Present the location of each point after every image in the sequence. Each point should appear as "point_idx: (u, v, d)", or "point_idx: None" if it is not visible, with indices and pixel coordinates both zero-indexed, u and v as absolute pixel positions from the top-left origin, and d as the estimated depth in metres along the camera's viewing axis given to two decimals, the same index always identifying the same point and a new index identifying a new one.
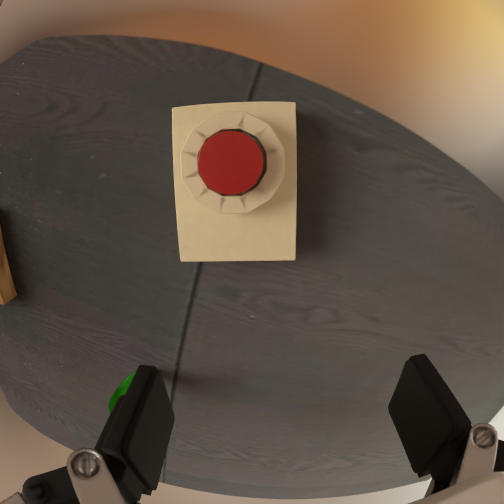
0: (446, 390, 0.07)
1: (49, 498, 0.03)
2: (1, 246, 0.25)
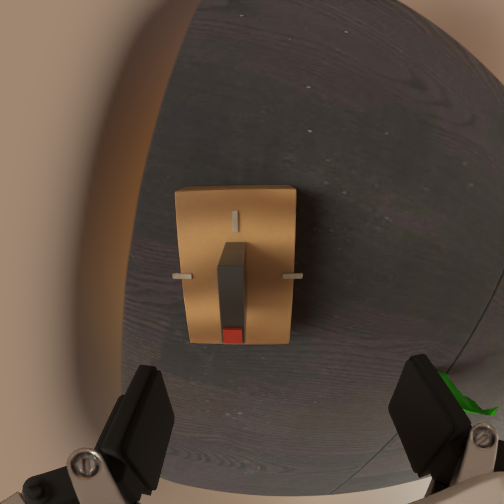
0: (446, 390, 0.07)
1: (49, 498, 0.03)
2: None
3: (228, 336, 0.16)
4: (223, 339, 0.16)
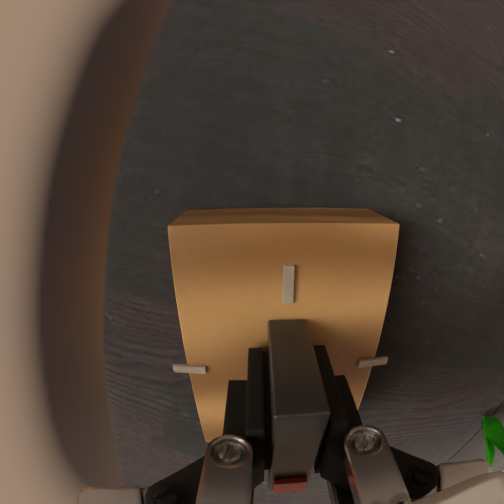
0: (332, 383, 0.08)
1: (185, 502, 0.05)
2: None
3: (282, 488, 0.07)
4: (272, 488, 0.07)
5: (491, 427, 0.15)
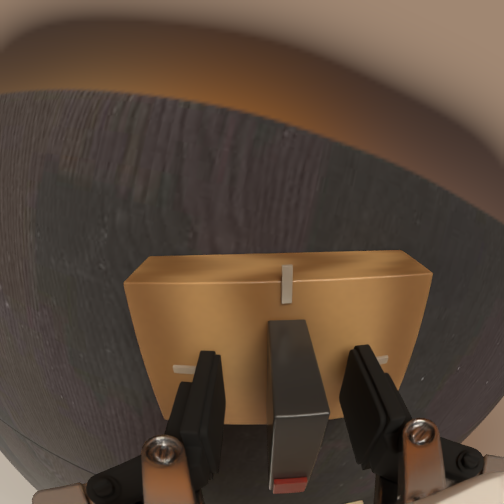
0: (384, 381, 0.08)
1: (120, 494, 0.04)
2: None
3: (282, 488, 0.07)
4: (272, 489, 0.07)
5: None
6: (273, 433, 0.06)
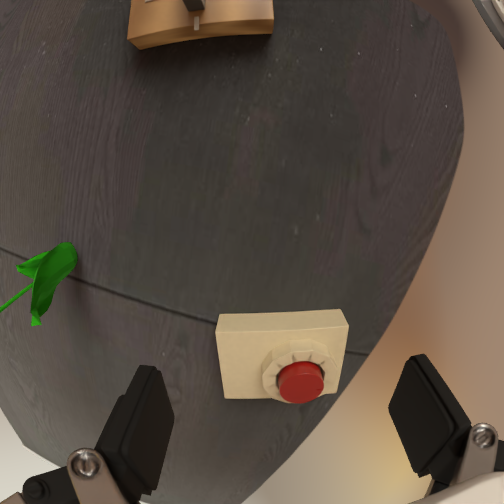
0: (446, 390, 0.07)
1: (49, 498, 0.03)
2: (214, 34, 0.18)
3: None
4: None
5: (68, 252, 0.23)
6: None
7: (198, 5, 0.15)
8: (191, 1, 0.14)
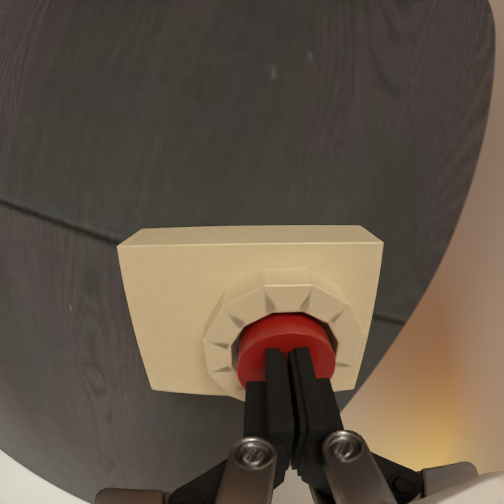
0: (313, 386, 0.08)
1: None
2: None
3: None
4: None
5: None
6: None
7: None
8: None
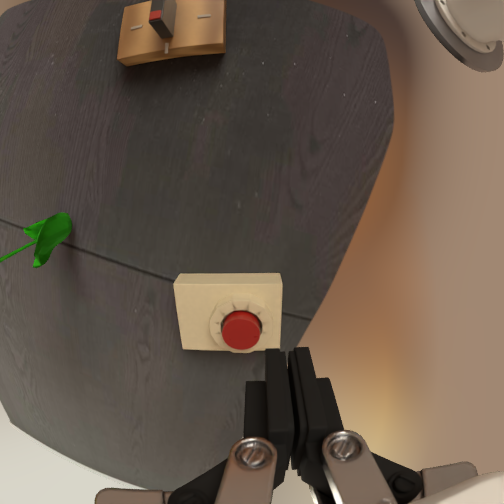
0: (313, 386, 0.08)
1: None
2: (181, 55, 0.25)
3: (152, 14, 0.18)
4: (149, 18, 0.18)
5: (65, 220, 0.29)
6: None
7: (167, 34, 0.22)
8: (162, 32, 0.21)
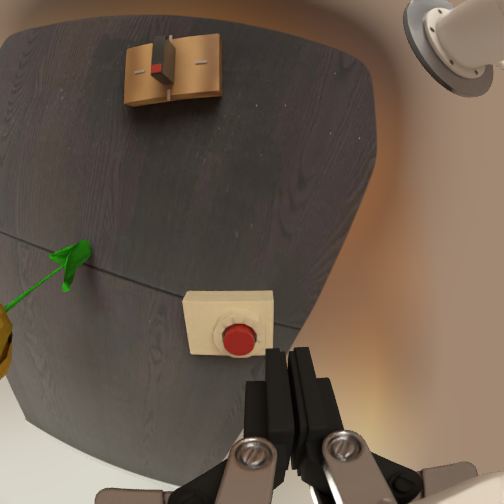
0: (313, 386, 0.08)
1: None
2: (182, 99, 0.31)
3: (153, 68, 0.23)
4: (151, 72, 0.23)
5: (86, 246, 0.35)
6: None
7: (169, 82, 0.27)
8: (163, 81, 0.26)
